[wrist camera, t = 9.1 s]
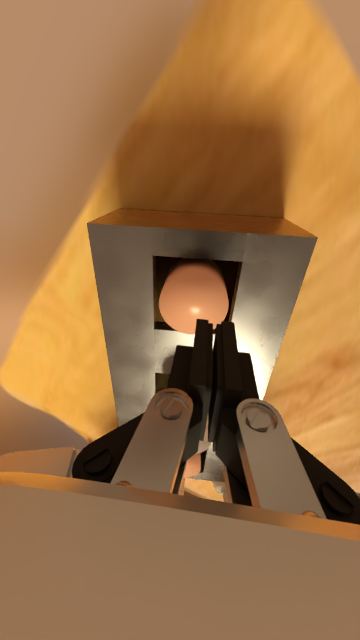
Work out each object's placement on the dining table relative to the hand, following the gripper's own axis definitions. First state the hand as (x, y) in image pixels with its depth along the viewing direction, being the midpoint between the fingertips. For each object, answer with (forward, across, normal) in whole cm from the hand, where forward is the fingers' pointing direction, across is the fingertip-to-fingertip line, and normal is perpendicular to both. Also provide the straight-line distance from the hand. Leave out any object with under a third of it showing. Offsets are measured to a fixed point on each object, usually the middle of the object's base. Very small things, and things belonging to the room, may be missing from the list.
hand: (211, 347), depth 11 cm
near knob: (+6, +1, 0) cm, 6 cm away
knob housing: (+10, +1, +9) cm, 13 cm away
